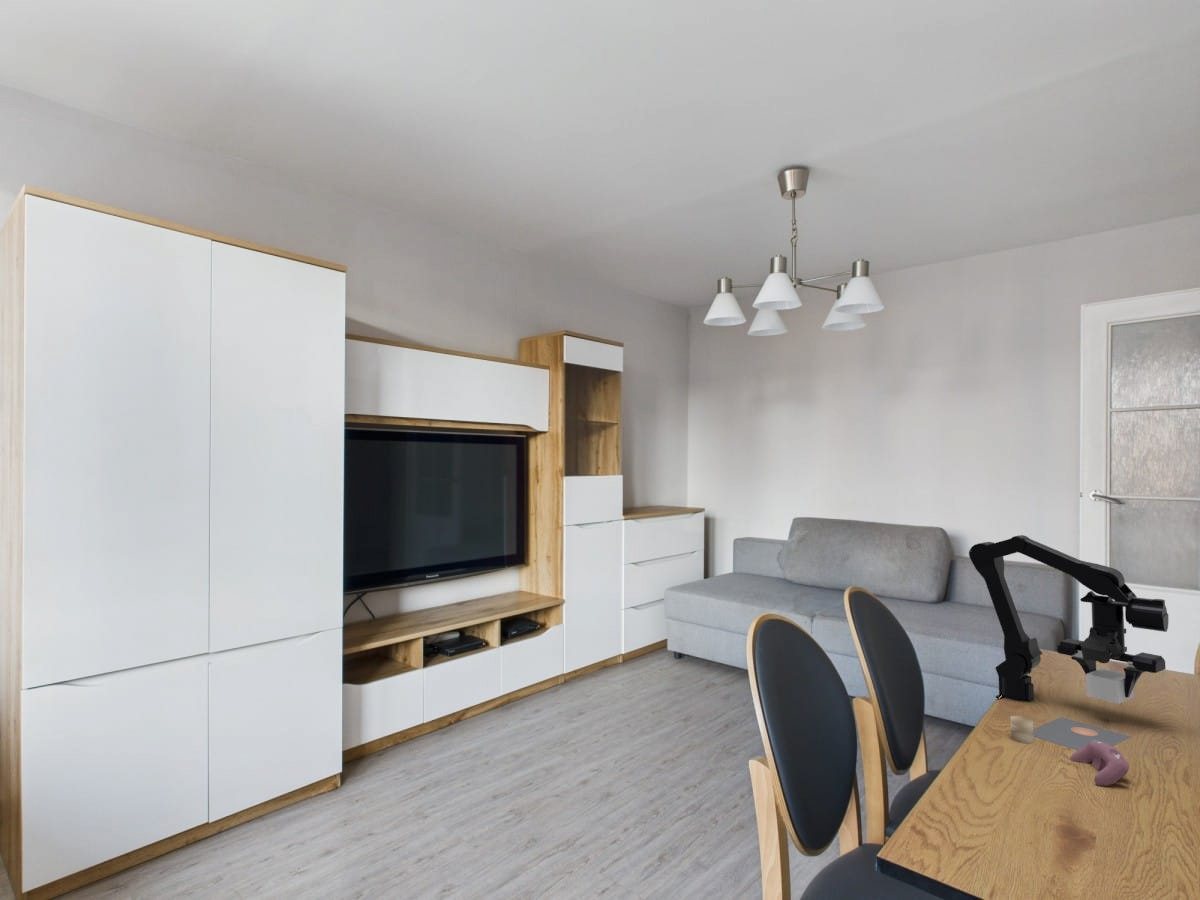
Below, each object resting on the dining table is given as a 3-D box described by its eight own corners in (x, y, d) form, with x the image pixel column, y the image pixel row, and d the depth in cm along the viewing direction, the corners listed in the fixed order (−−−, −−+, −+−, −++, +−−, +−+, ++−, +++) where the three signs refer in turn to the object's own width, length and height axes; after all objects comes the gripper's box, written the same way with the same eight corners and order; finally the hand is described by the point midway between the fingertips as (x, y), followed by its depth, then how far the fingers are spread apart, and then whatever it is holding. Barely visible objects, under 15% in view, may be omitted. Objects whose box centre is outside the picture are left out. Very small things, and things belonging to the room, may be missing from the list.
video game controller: (1120, 797, 116) (1139, 763, 115) (1095, 784, 116) (1113, 750, 116) (1090, 772, 125) (1107, 740, 125) (1066, 760, 126) (1083, 728, 126)
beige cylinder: (1007, 742, 136) (1006, 718, 136) (1017, 738, 138) (1016, 714, 138) (1028, 749, 132) (1027, 724, 133) (1037, 744, 134) (1036, 720, 135)
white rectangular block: (1086, 696, 147) (1086, 673, 147) (1102, 689, 151) (1101, 668, 151) (1118, 704, 142) (1117, 681, 142) (1134, 697, 146) (1133, 674, 146)
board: (1023, 737, 138) (1023, 733, 138) (1061, 720, 147) (1061, 716, 147) (1094, 759, 127) (1094, 755, 127) (1131, 740, 136) (1130, 736, 136)
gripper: (1044, 620, 151) (1047, 687, 150) (1143, 637, 135) (1146, 713, 134) (1067, 614, 156) (1069, 679, 156) (1165, 630, 140) (1167, 702, 140)
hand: (1110, 693), depth 146 cm, fingers closed on white rectangular block, 6 cm apart
